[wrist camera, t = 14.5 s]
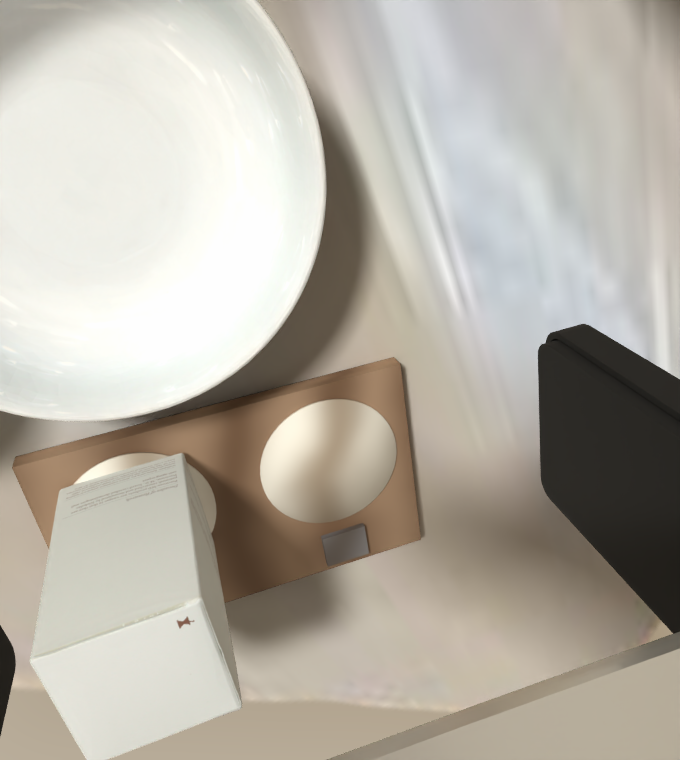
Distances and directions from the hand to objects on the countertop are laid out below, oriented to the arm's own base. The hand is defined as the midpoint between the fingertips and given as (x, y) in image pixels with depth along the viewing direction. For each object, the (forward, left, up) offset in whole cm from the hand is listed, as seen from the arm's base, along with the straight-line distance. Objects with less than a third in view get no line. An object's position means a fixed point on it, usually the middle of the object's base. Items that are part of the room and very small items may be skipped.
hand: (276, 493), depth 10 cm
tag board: (+1, +19, -27) cm, 33 cm away
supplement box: (+7, +17, -26) cm, 32 cm away
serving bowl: (+4, -2, -28) cm, 28 cm away
